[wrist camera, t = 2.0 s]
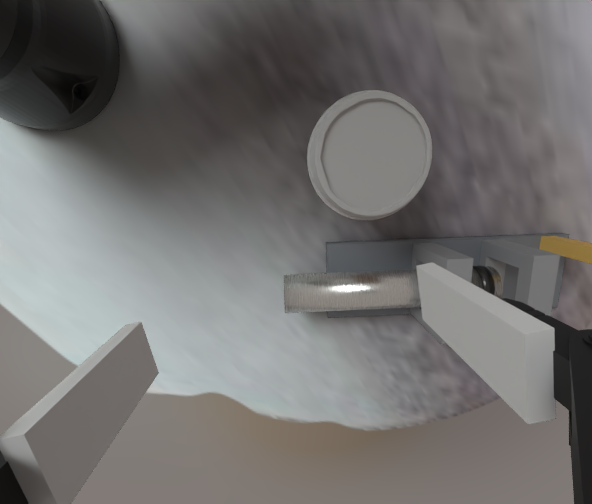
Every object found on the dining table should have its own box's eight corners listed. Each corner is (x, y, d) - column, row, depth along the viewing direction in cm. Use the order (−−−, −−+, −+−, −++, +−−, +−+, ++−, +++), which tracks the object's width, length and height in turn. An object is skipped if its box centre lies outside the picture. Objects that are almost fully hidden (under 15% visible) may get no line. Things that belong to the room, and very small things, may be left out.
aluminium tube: (285, 304, 35) (285, 320, 31) (283, 269, 34) (283, 280, 30) (476, 296, 35) (501, 311, 31) (479, 260, 35) (506, 271, 30)
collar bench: (326, 314, 38) (343, 366, 27) (326, 242, 36) (343, 267, 25) (550, 304, 38) (652, 351, 28) (561, 233, 36) (677, 254, 26)
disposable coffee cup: (310, 110, 33) (324, 70, 21) (396, 130, 33) (456, 101, 22) (292, 200, 35) (296, 209, 23) (374, 216, 35) (418, 233, 24)
